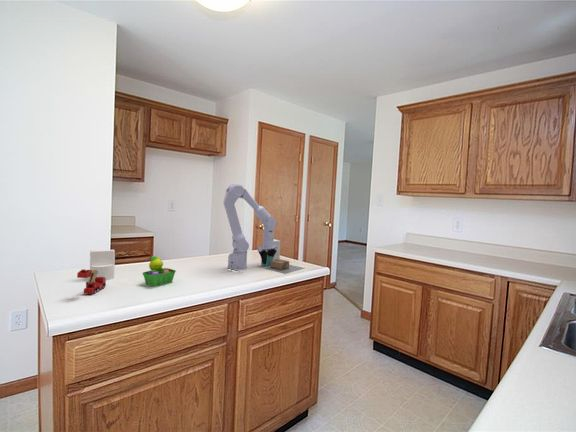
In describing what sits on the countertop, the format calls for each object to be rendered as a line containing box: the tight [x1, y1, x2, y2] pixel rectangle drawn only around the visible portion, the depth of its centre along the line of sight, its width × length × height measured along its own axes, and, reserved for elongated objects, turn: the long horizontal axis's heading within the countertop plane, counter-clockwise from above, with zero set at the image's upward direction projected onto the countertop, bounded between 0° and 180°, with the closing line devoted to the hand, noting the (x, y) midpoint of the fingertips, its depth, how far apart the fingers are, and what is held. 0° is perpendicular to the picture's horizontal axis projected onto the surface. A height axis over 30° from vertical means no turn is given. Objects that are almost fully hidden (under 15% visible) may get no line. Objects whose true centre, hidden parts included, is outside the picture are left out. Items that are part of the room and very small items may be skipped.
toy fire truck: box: [76, 269, 107, 295], centre depth 113 cm, size 3×14×10 cm, turn 5°
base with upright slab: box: [89, 249, 116, 281], centre depth 131 cm, size 9×9×12 cm
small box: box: [266, 238, 281, 260], centre depth 181 cm, size 8×6×13 cm
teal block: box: [260, 256, 273, 268], centre depth 167 cm, size 4×4×5 cm
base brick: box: [270, 258, 290, 271], centre depth 162 cm, size 7×7×4 cm
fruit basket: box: [142, 255, 177, 288], centre depth 128 cm, size 11×9×11 cm
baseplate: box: [264, 264, 306, 275], centre depth 162 cm, size 18×14×1 cm
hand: (267, 263), depth 167 cm, fingers closed on teal block, 4 cm apart
